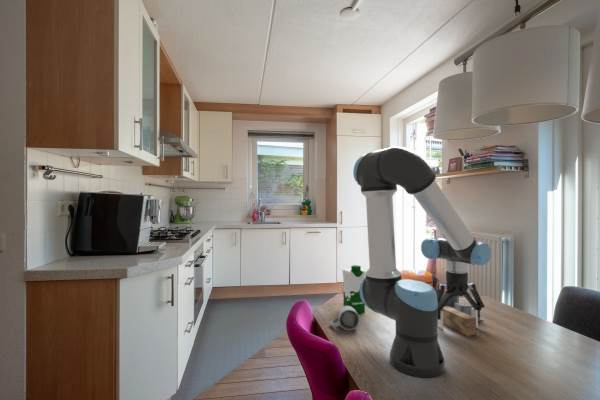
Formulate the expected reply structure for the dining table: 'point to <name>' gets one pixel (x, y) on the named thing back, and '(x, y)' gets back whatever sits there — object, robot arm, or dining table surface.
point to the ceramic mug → (346, 318)
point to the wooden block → (459, 321)
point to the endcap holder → (460, 306)
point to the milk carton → (353, 288)
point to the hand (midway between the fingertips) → (457, 327)
